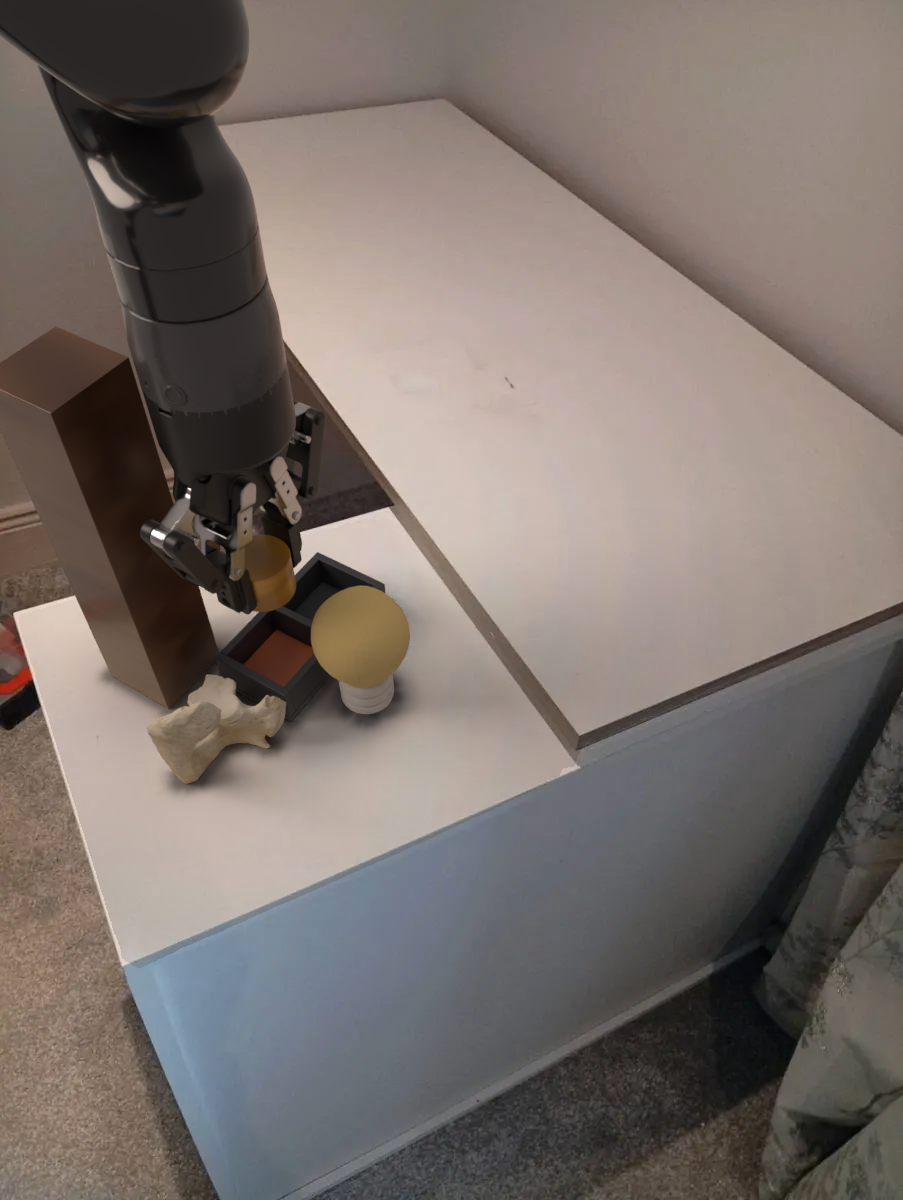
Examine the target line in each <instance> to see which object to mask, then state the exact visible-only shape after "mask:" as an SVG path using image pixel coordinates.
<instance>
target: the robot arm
mask: <svg viewBox="0 0 903 1200" xmlns="http://www.w3.org/2000/svg"><path fill="white" fill-rule="evenodd" d="M247 13H248V12H247V9H246V5H245V2H244V0H0V38H1V39H3V40H4V41H5V42H6V43H7V44H9V45H10V46H11V47H13V48H14V49H15V50H17V51H18V52H20V53H21V54H22V55H24V56H25V57H27V59H28V60H30V61H32V63H35V64H36V66H37V69H38V71H39V73H40V76H41V79H42V81H43V83H44V86H45V88H46V92H47V93H48V96H49V98H50V101H51V103H52V105H53V108H54V110H55V113H56V115H57V117H58V120H59V122H60V124H61V127H62V129H63V132H64V134H65V136H66V138H67V141H68V143H69V146H70V148H71V150H72V152H73V154H74V156H75V158H76V160H77V162H78V164H79V167H80V169H81V172H82V175H83V177H84V179H85V183H86V185H87V188H88V191H89V194H90V198H91V201H92V204H93V208H94V212H95V216H96V222H97V226H98V230H99V234H100V238H101V241H102V246H103V249H104V251H105V255H106V259H107V262H108V265H109V268H110V272H111V275H112V277H113V282H114V285H115V288H116V292H117V295H118V299H119V302H120V307H121V313H122V320H123V328H124V333H125V338H126V342H127V345H128V346H127V347H128V350H129V353H130V355H131V356H130V357H131V359H132V362H133V365H134V369H135V372H136V375H137V379H138V381H139V386H140V389H141V392H142V396H143V399H144V401H145V405H146V408H147V411H148V414H149V415H148V416H149V418H150V421H151V424H152V427H153V431H154V434H155V437H156V441H157V443H158V446H159V449H160V450H161V452H162V454H163V455H164V457H165V459H166V460H167V461H168V463H169V465H170V467H171V468H172V470H173V485H172V498H173V499H174V501H175V502H173V503H174V505H173V506H172V507H171V509H170V510H169V512H168V513H167V514H166V516H165V517H164V519H163V520H162V521H161V523H159V522H157V521H155V520H152V519H150V520H148V521H146V522H145V523H144V524H143V526H142V528H141V531H140V536H141V538H142V539H143V540H144V541H145V542H146V543H147V544H148V545H149V546H150V547H151V548H152V549H153V550H154V551H155V552H156V553H157V554H158V555H159V556H160V557H161V558H162V559H163V560H164V561H165V562H166V563H167V564H168V565H169V566H170V567H171V568H172V569H173V570H174V571H175V572H176V573H177V574H178V575H179V576H180V577H181V578H183V579H185V580H189V581H191V582H193V583H195V584H197V585H198V586H199V588H200V587H201V588H203V589H204V591H206V592H209V594H210V593H211V594H213V595H215V594H216V598H217V601H218V603H220V604H221V605H222V606H224V607H226V608H228V609H230V610H232V611H233V612H236V613H237V614H241V613H243V614H245V615H250V614H251V613H253V612H254V611H253V610H254V609H255V608H256V607H257V603H256V599H255V595H254V591H253V587H252V583H251V579H250V575H249V571H248V570H247V569H245V546H247V545H248V544H250V543H251V542H252V536H253V515H254V514H255V512H256V511H257V510H258V509H260V510H261V511H262V512H264V514H263V515H262V516H261V517H260V519H261V520H260V521H261V524H262V529H263V533H264V534H263V535H271V536H274V537H276V538H278V539H280V540H282V541H284V542H285V543H286V545H287V546H288V548H289V550H290V554H291V559H292V564H293V569H295V568H296V567H298V565H299V564H300V563H301V562H302V554H301V553H302V552H301V551H302V548H303V547H302V546H303V539H302V534H301V529H300V523H299V521H300V519H301V517H302V516H303V515H302V514H303V509H302V507H301V506H302V504H303V503H304V501H305V500H308V501H311V500H313V499H314V498H315V496H316V495H317V493H318V490H319V482H320V473H321V472H320V471H321V470H320V469H321V461H322V451H323V441H324V431H325V430H324V429H325V420H326V415H325V413H324V411H322V410H319V409H317V408H316V407H315V408H314V407H312V406H310V405H307V404H305V403H302V402H300V401H298V400H295V399H294V398H293V391H292V385H291V379H290V373H289V366H288V361H287V355H286V350H285V349H286V348H285V343H284V337H283V330H282V324H281V319H280V313H279V309H278V306H277V302H276V299H275V296H274V294H273V290H272V288H271V284H270V281H269V276H268V272H267V267H266V261H265V256H264V249H263V243H262V237H261V232H260V225H259V219H258V213H257V208H256V203H255V197H254V194H253V190H252V188H251V185H250V182H249V180H248V176H247V175H246V172H245V170H244V168H243V166H242V164H241V162H240V161H239V159H238V157H237V156H236V155H235V153H234V152H233V150H232V149H231V147H230V146H229V144H228V143H227V141H226V139H225V138H224V136H223V134H222V132H221V130H220V128H219V126H218V122H217V121H216V117H215V114H217V112H218V111H220V110H221V109H222V108H223V107H224V106H225V105H226V104H227V103H228V102H229V101H230V100H231V99H232V97H233V95H234V94H235V92H236V91H237V90H238V88H239V86H240V84H241V82H242V79H243V77H244V74H245V71H246V68H247V64H248V58H249V53H250V52H249V51H250V26H249V18H248V14H247ZM296 462H297V463H299V464H300V465H301V467H302V470H301V475H300V474H299V473H296V472H295V464H296ZM196 535H197V536H196ZM198 547H199V548H200V549H199V548H198ZM221 547H222V548H223V549H224V551H225V552H224V551H222V550H221Z"/></svg>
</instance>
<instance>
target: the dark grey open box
mask: <svg viewBox="0 0 903 1200" xmlns="http://www.w3.org/2000/svg"><path fill="white" fill-rule="evenodd" d="M294 574H295V580H296V591H295V593H294V595H293V597H292V598H291V600H290V601H289V602H288V603H286V604H285V605H284V606H282V607H280V608H278V609H275V610H272V611H267V612H256V615H254V617H253V618H251V619H250V620H249V621H248V623H246V624H245V626H243V628H242V629H241V630H239V631H238V633H237V634H236V635H235V636H234V637H233V638H232V639H231V640H230V641H229V642H228V643H227V644H226V645H225V646H224V647H223V648H222V649H221V650H220V651H219V654H218V655H217V656H216V657H215V664H216V667H217V670H218V673H219V674H218V675H219V676H220V677H223V678H224V679H226V678H230V679H232V680H234V681H235V682H236V693H238V694H239V695H242V696H243V697H245V698H247V699H249V700H251V701H253V702H255V703H256V704H259V703H260V702H261V701H262V700H263V698H264V697H265V696H266V695H268V696H270V697H271V696H274V697H277V698H280V699H281V700H283V701H284V702H286V711H285V719H284V720H286V721H289V722H292V721H293V720H294V719H295V718H296V717H297V715H299V713H300V712H301V711H302V710H303V708H305V706H306V705H307V704H308V703H309V701H311V699H312V698H313V697H314V696H315V695H316V693H317V692H318V691H319V690H320V689H321V688H322V686H323V685H324V684H325V683H326V682H327V681H328V680H329V679H330V677H332V676H331V675H330V674H329V673H327V672H326V671H325V670H324V668H323V667H322V666H321V665H320V664H319V662H318V660H317V658H316V656H315V654H314V651H313V648H312V644H311V626H312V622H313V619H314V616H315V614H316V612H317V610H318V609H319V608H320V606H321V605H322V604H323V603H324V602H325V601H326V600H327V599H329V598H330V597H331V596H333V595H334V594H336V593H338V592H340V591H342V590H344V589H347V588H350V587H354V586H369V587H373V588H375V589H378V590H380V591H382V592H384V593H385V594H386V584H385V583H384V582H381V581H379V580H377V579H376V578H373V577H371V576H369V575H367V574H365V573H363V572H361V571H359V570H357V569H354V568H352V567H351V566H349V565H348V566H347V565H346V564H344V563H342V562H339V561H337V560H335V559H333V558H331V557H329V556H327V555H325V554H323V553H321V552H319V551H317V552H316V553H315V554H313V555H312V557H311V558H310V559H309V560H308V561H307V562H306V563H305V564H304V565H303V566H302V567H301V568H300V569H299V570H298V571H297V572H296V573H294Z"/></svg>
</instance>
